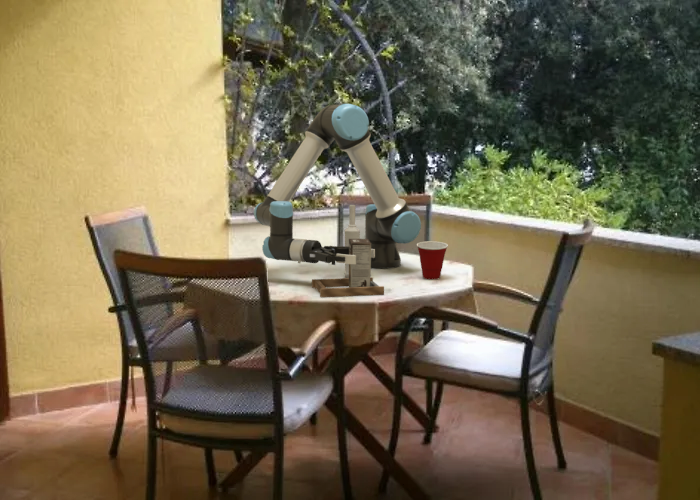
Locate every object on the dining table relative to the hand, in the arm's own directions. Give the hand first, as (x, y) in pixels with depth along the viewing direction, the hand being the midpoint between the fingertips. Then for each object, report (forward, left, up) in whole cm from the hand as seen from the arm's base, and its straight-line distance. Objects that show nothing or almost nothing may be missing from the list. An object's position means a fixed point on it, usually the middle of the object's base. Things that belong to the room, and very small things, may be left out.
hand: (365, 256), depth 251 cm
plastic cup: (-28, -16, -11) cm, 34 cm away
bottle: (-1, -21, -11) cm, 24 cm away
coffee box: (+2, -1, -11) cm, 11 cm away
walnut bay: (+5, -1, -11) cm, 12 cm away
